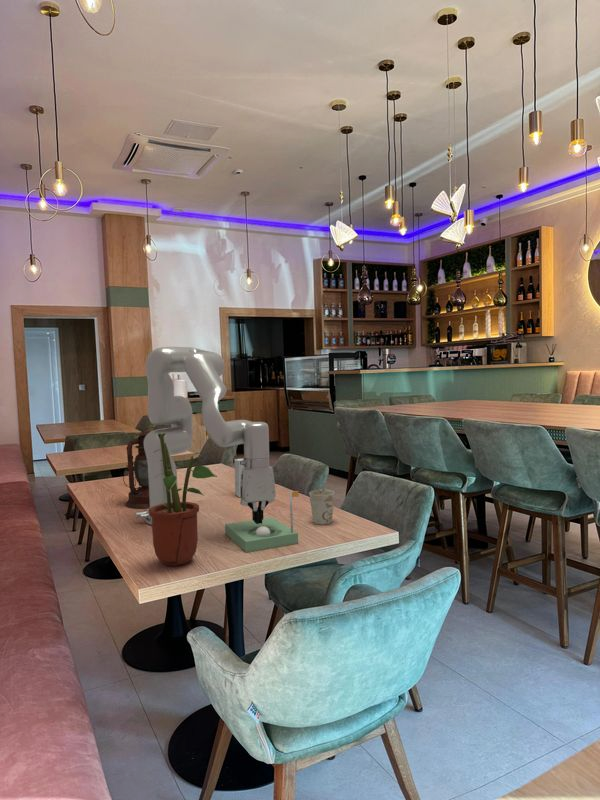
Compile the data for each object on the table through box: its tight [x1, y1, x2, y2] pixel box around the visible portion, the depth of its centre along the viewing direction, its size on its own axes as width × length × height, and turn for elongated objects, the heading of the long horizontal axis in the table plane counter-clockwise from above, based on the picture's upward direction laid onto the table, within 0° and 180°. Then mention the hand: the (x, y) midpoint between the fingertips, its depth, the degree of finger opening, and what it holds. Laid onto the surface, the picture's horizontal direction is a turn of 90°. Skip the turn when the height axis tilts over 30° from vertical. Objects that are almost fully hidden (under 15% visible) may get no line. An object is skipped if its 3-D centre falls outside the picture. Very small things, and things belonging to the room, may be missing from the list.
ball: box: [255, 526, 271, 535], centre depth 164 cm, size 5×5×5 cm
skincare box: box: [234, 458, 244, 498], centre depth 224 cm, size 8×6×15 cm
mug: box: [308, 489, 336, 526], centre depth 184 cm, size 8×13×10 cm, turn 27°
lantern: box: [122, 426, 157, 510], centre depth 215 cm, size 19×19×30 cm
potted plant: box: [149, 433, 218, 567], centre depth 150 cm, size 17×16×35 cm
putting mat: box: [224, 490, 300, 553], centre depth 167 cm, size 17×20×15 cm
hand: (258, 522), depth 168 cm, fingers closed
